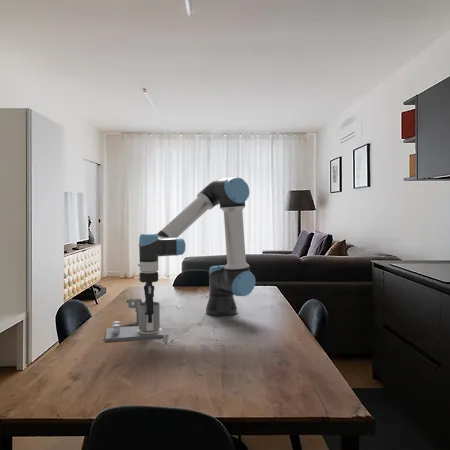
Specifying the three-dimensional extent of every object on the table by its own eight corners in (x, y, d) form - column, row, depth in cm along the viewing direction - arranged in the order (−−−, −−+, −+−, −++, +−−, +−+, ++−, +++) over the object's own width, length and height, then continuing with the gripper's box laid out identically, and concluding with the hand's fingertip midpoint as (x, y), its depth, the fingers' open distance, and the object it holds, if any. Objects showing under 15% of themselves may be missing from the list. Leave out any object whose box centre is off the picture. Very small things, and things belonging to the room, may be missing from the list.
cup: (140, 326, 182) (139, 302, 182) (160, 325, 183) (160, 301, 182) (137, 331, 174) (137, 306, 173) (158, 330, 174) (158, 305, 174)
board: (160, 327, 187) (160, 316, 187) (163, 337, 171) (163, 325, 171) (107, 330, 182) (106, 319, 182) (105, 341, 167) (105, 329, 167)
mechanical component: (147, 322, 195) (147, 300, 195) (126, 321, 197) (125, 299, 197) (150, 321, 198) (149, 299, 198) (129, 320, 200) (128, 298, 200)
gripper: (138, 268, 187) (139, 321, 188) (140, 275, 166) (140, 335, 167) (156, 268, 189) (157, 320, 189) (160, 275, 168) (160, 333, 169)
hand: (149, 327), depth 178 cm, fingers closed on cup, 8 cm apart
